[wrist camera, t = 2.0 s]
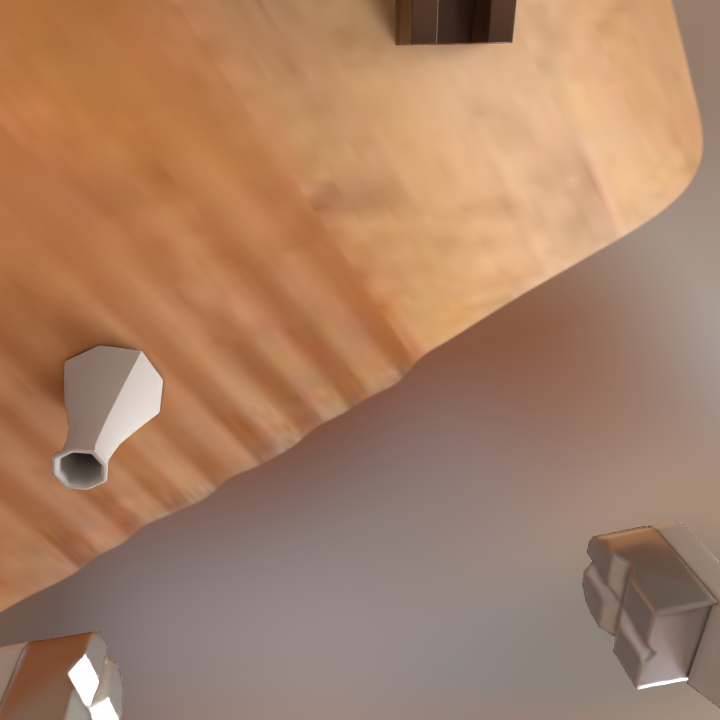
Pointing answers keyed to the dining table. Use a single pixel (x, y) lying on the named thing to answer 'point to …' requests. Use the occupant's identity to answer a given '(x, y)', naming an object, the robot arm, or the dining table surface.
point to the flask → (103, 410)
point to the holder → (454, 22)
